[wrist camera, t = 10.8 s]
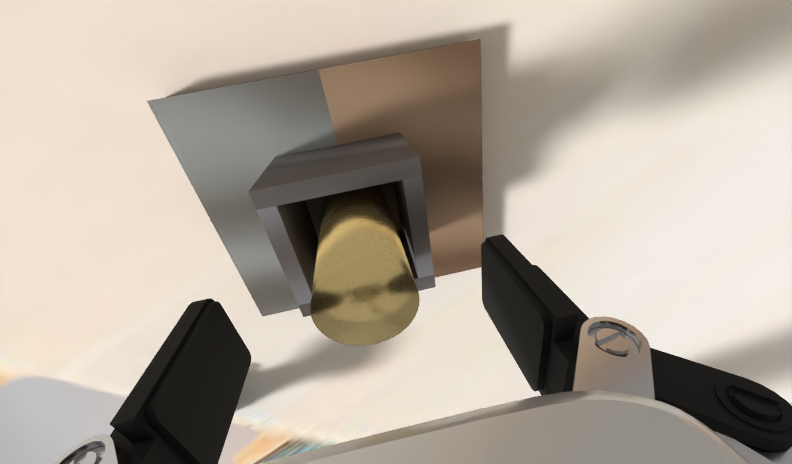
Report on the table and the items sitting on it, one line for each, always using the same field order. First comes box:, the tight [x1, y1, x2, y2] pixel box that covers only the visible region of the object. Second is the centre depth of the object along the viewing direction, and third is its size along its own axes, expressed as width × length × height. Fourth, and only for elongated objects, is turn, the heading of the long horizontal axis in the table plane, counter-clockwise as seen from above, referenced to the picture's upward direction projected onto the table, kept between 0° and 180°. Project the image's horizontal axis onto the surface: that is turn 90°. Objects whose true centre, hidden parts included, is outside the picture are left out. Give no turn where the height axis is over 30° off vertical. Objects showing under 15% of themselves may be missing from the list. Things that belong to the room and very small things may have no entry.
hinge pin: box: [310, 185, 419, 346], centre depth 14 cm, size 4×4×9 cm
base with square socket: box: [147, 39, 483, 317], centre depth 16 cm, size 14×16×6 cm
